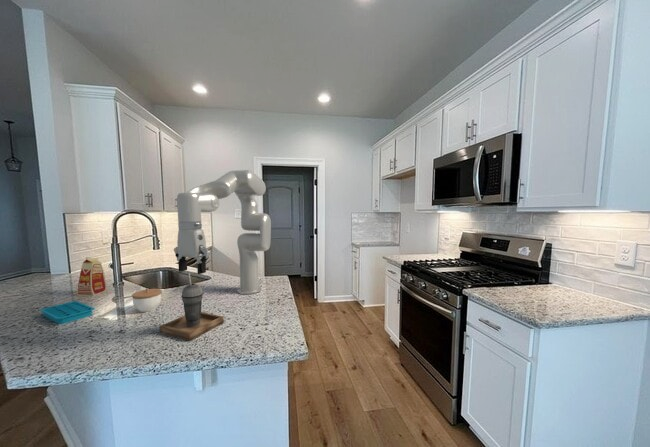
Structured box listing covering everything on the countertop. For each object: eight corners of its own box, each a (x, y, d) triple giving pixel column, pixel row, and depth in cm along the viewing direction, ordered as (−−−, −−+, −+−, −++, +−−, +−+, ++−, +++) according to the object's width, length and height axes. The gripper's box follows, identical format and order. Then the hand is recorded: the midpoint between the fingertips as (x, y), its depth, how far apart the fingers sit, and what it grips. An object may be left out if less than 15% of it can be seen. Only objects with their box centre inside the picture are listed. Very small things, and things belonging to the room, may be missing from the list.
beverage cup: (195, 330, 91) (193, 275, 90) (177, 328, 92) (175, 274, 91) (208, 321, 98) (206, 270, 97) (192, 319, 99) (190, 269, 98)
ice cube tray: (76, 307, 117) (76, 300, 116) (96, 315, 107) (96, 308, 107) (39, 316, 106) (39, 309, 106) (57, 326, 97) (57, 319, 97)
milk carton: (93, 296, 130) (91, 257, 129) (75, 296, 130) (73, 257, 129) (108, 290, 139) (107, 254, 138) (92, 290, 139) (90, 254, 138)
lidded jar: (162, 310, 111) (161, 289, 110) (131, 316, 105) (130, 294, 105) (162, 303, 120) (161, 283, 119) (134, 307, 114) (133, 287, 114)
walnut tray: (195, 316, 105) (195, 310, 105) (223, 322, 99) (223, 316, 99) (160, 332, 91) (159, 326, 91) (189, 341, 85) (189, 333, 85)
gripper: (215, 226, 93) (217, 271, 94) (182, 225, 100) (184, 267, 101) (198, 228, 86) (200, 277, 87) (164, 226, 93) (166, 272, 94)
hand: (192, 272), depth 94 cm, fingers open, 9 cm apart
